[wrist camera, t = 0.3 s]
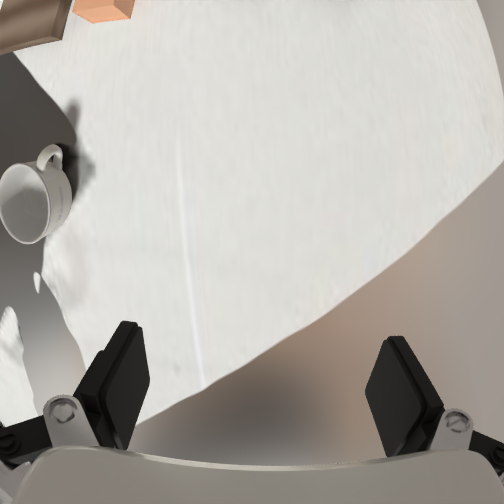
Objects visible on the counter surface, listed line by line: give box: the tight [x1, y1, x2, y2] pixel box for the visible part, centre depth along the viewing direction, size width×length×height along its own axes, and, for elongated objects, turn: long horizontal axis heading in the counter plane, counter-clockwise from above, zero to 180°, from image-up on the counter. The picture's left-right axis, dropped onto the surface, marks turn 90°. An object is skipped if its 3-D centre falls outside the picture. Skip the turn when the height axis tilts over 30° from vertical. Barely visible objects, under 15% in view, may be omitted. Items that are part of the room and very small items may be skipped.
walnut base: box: [0, 0, 72, 55], centre depth 27 cm, size 14×14×3 cm
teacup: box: [0, 144, 72, 244], centre depth 35 cm, size 14×11×8 cm
